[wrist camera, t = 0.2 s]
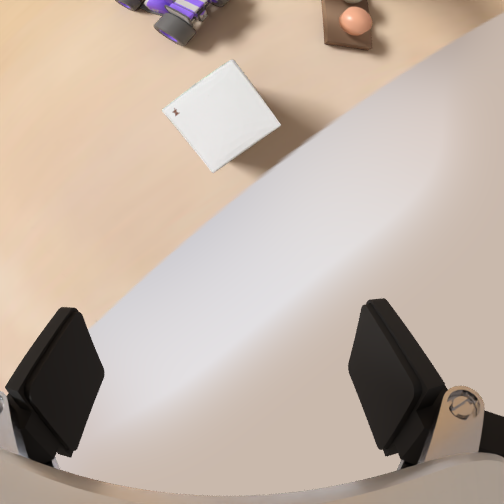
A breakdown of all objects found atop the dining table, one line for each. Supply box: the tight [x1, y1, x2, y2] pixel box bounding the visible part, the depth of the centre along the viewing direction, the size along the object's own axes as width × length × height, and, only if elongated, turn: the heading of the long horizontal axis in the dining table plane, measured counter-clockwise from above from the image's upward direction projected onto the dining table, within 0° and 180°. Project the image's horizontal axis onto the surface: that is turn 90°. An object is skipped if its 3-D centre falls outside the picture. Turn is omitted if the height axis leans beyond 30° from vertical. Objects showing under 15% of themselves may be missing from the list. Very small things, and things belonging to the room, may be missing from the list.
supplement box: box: [162, 60, 281, 173], centre depth 28 cm, size 7×7×13 cm
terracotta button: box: [339, 7, 372, 36], centre depth 25 cm, size 4×4×2 cm
